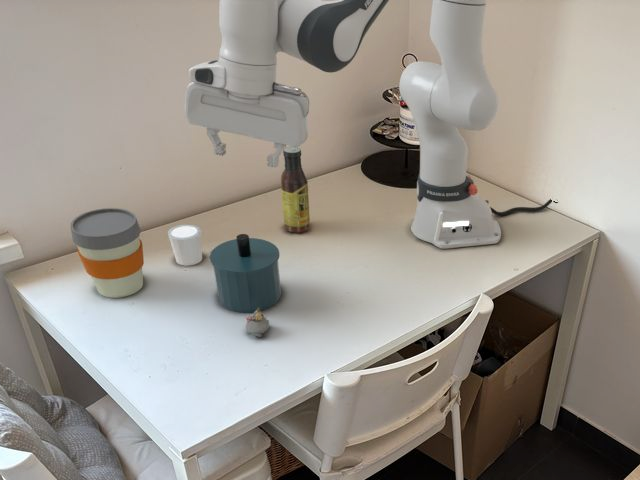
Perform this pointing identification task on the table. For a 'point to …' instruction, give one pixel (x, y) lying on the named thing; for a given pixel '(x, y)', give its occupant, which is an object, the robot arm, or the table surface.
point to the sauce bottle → (294, 192)
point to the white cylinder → (186, 244)
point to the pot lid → (244, 255)
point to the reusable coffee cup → (110, 250)
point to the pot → (248, 289)
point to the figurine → (257, 323)
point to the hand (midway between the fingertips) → (246, 160)
